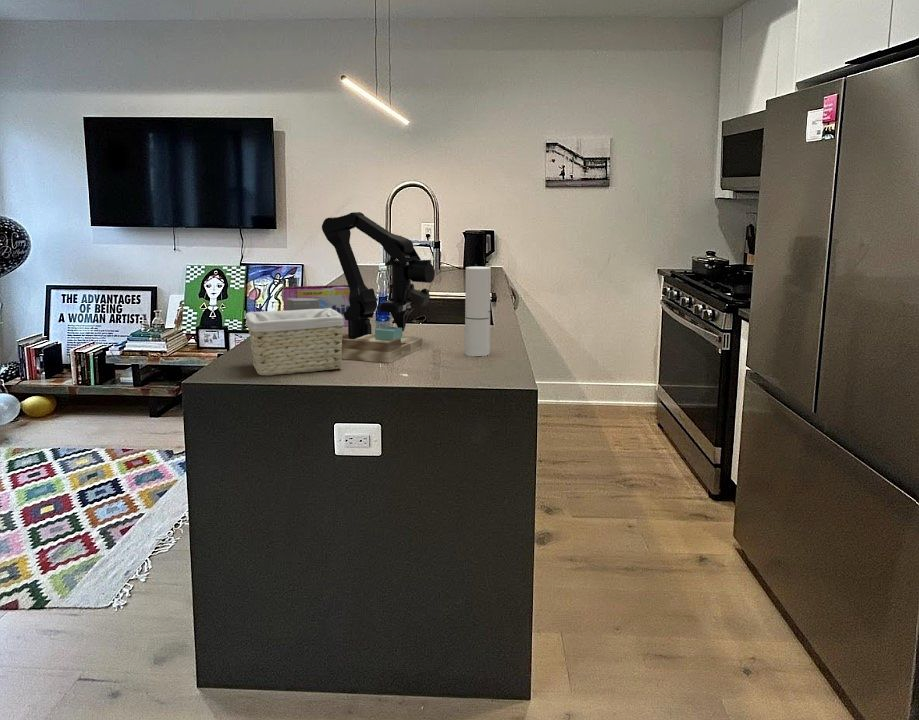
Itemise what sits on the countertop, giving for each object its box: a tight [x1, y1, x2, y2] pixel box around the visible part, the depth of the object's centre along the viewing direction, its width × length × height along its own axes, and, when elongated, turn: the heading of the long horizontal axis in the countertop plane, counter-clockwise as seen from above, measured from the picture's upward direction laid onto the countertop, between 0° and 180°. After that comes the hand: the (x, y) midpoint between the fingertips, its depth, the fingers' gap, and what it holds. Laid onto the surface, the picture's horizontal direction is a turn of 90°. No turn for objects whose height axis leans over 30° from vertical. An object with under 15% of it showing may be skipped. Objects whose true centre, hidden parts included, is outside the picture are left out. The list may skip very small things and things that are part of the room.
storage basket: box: [245, 308, 344, 377], centre depth 216 cm, size 24×16×15 cm
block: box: [374, 326, 403, 341], centre depth 243 cm, size 6×6×3 cm
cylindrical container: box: [464, 266, 492, 357], centre depth 234 cm, size 7×7×25 cm
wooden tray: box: [341, 333, 423, 364], centre depth 237 cm, size 18×22×6 cm
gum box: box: [280, 284, 350, 328], centre depth 280 cm, size 24×8×14 cm, turn 106°
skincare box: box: [286, 298, 319, 311], centre depth 236 cm, size 8×7×16 cm
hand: (401, 331), depth 251 cm, fingers closed
